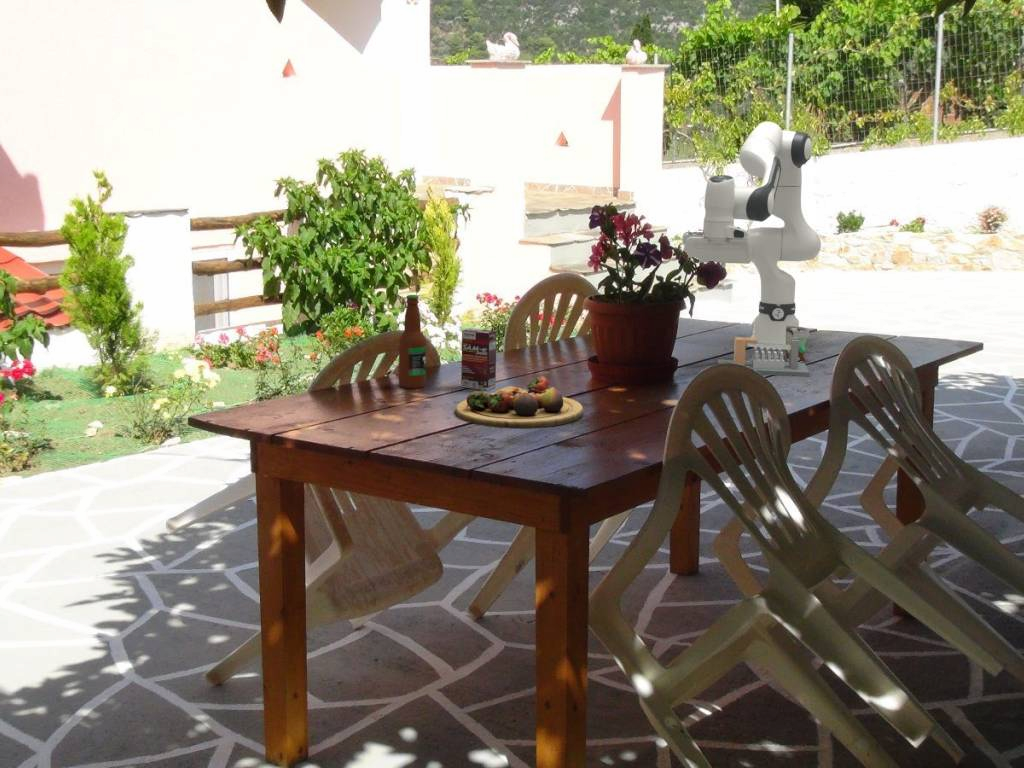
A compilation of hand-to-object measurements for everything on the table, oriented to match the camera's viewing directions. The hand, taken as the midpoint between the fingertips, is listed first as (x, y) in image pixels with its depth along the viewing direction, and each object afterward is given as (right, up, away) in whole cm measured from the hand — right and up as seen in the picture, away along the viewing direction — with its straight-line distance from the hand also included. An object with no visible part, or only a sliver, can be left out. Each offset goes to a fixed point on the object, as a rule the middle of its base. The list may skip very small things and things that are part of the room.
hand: (716, 278), depth 381 cm
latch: (+9, -26, +4) cm, 27 cm away
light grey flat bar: (+17, -21, +2) cm, 27 cm away
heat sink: (+14, -27, +3) cm, 31 cm away
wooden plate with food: (-59, -40, -61) cm, 93 cm away
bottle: (-88, -32, -30) cm, 98 cm away
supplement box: (-70, -33, -30) cm, 83 cm away
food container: (+29, -24, +20) cm, 43 cm away
